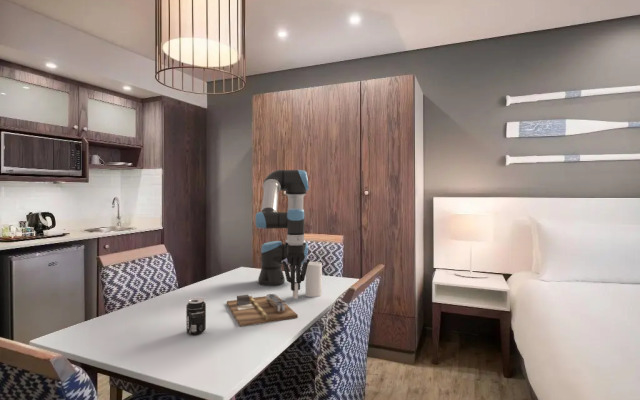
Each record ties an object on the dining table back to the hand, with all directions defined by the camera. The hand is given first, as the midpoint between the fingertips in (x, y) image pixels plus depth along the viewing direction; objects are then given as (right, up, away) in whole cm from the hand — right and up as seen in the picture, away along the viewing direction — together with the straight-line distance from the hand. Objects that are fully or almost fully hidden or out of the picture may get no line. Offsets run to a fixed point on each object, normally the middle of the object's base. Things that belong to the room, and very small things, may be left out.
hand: (295, 297), depth 153 cm
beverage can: (-35, -7, -23) cm, 43 cm away
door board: (-16, -6, +1) cm, 17 cm away
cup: (+8, -6, +25) cm, 27 cm away
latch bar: (-9, -3, +1) cm, 10 cm away
